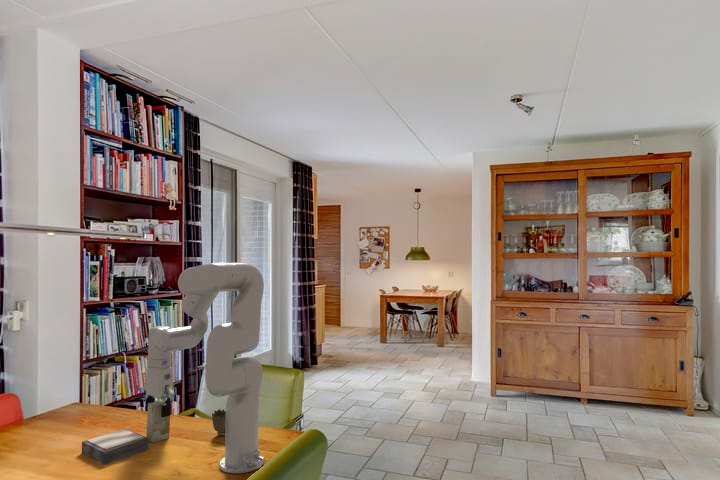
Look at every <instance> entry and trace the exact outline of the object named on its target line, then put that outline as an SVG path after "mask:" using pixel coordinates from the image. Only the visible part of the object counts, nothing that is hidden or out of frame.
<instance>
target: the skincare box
mask: <svg viewBox="0 0 720 480" xmlns="http://www.w3.org/2000/svg"><path fill="white" fill-rule="evenodd" d="M166 400H167V399H165V401H166ZM162 405H163V403H162V401H161V400H158V401H157V400H155V402H153V403H148V411H147V415H146V416H147V417H146V418H147V419H146V436H145V437H147V438H149V442H151V443H156V442H160V441H162V440H167V439H169V438H170V431H171V430H170V428H171V427H170V426H171V425H170V423H171V415H170V416H167V417H163V418H162V417H161V408H162Z"/></svg>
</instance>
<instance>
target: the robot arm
mask: <svg viewBox="0 0 720 480" xmlns="http://www.w3.org/2000/svg"><path fill="white" fill-rule="evenodd" d="M177 287H178V289H179V292H180V293H182V295H185V296H184V298H183V299H182V300H181V309H182V310H183V312H184V313H185V314H187V315H188V316H189V317H191V318H193V319H192V320H191V322H190V323H189V325H188V326H180V327H178V326H177V327H174V328H172V327H171V326H169V325H157V326H152V327H150V329H149V330H148V344H147V345H148V351H147V353H148V354H147V369H146V371H147V372H146V379H145V383H144V384H143V394H144V399H145V403H144V404H145V405H144V407H145V408H144V410H145V412H148V403H153V402H156V399H160V401H162V403H163V405H162V408H161V417H162V418H163V417H167V416H170V417H171V415H172V404H173V401H174V398H175V395H176V393H175V391H174V371H173V367H172V359H173V358H172V357H173V356H172V355H173V352H177V351H181V350H186V349H192V348H195V347H196V346H197V345H198V344H200V342H201V341H202V339H203V337H204V336H206V333H207V331H208V328H209V317H208V313H207V312H208V310H209V309H210V308H211V306H212V304H213V303H214V302H215V299H216V298H217V297H218V294H219V293H221V292H223V293H224V292H233V291H235V292H236V291H237V292H238V294H237V295H236V297H235V298H234V301H233V303H232V306H231V317H230V322H225V323H220V324H218V325H216V326H214V327H213V328H212V329H211V331H210V332H209V333H208V337H207V341H206V348H205V349H206V351H205V353H206V354H205V370H204V372H205V373H204V380H205V381H204V383H205V386H206V389H207V391H208V392H209V393H210V395H211V396H213V397H216V398H217V397H219V398H221V397H225V396H227V399H226V403H225V411H226V429H225V436H224V437H225V439H224V442H225V446H224V457H223V458H222V459H220V461H219V465H218V466H219V469H220V470H221V471H223V472H225V473H227V474H228V473H229V474H244V473H249V472H253V471H256V470H258V469H259V468H261V467H262V466H263V464H264V463H265V461H266V457H264V456H262V455H261V449H259V414H260V413H259V410H260V409H259V408H260V407H259V406H260V393H261V391H260V390H261V385H262V380H263V373H264V372H263V371H264V370H263V366H262V363H261V362H260V361H259V359H257V358H256V357H255V356H252V355H251V356H249V355H244V356H239V357H236V358H235V357H234V356H238V355H242V354H247V353H251V352H253V351H255V349H257V348H258V346H259V344H260V343H259V342H260V335H261V334H260V332H261V318H262V317H261V315H262V313H261V312H262V311H261V310H262V309H261V308H262V302H263V297H264V290H265V289H264V288H265V284H264V277H263V275H262V272H261V271H260V270H259V269H258V268H257V266H255V265H252V264H249V263H245V262H212V263H206V264H202V265H201V264H200V265H197V266H192V267H187V268H186V269H184V270H183V271H182V272H181V273H180V274H179V277H178V280H177ZM165 400H166V401H165Z"/></svg>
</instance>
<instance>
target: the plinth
mask: <svg viewBox="0 0 720 480" xmlns="http://www.w3.org/2000/svg"><path fill="white" fill-rule="evenodd" d="M149 442H150V441H149V438H147V437H146V436H144V435H141V434H139V433H136V432H134V431H132V430H129V429H126V428H125V429H121V430H118V431H117V430H116V431H114V432H110V433H108V434H103V435H99V436H97V437H93V438H90V439H89V438H88V439H85V440H83V441H81V454H82V455H84V456H86V457H88V458H90V459H92V460H94V461H96V462H98V463H99V464H102V465H103V466H104V465H107V464H111V463H112V462H116V461H118V460H121V459H125V458H127V457H131V456H134V455H136V454H140V453H143V452H145V451H148V450H149V445H150V443H149Z"/></svg>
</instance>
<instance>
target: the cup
mask: <svg viewBox="0 0 720 480" xmlns="http://www.w3.org/2000/svg"><path fill="white" fill-rule="evenodd" d="M211 417H212V419H211V420H212V426H213V429H214V430H215V432H217V433H216V435H217V436H218V437H225V429H226V410H225V409H222V410H221V409H218V410H214V413H213V412H212V413H211Z"/></svg>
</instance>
